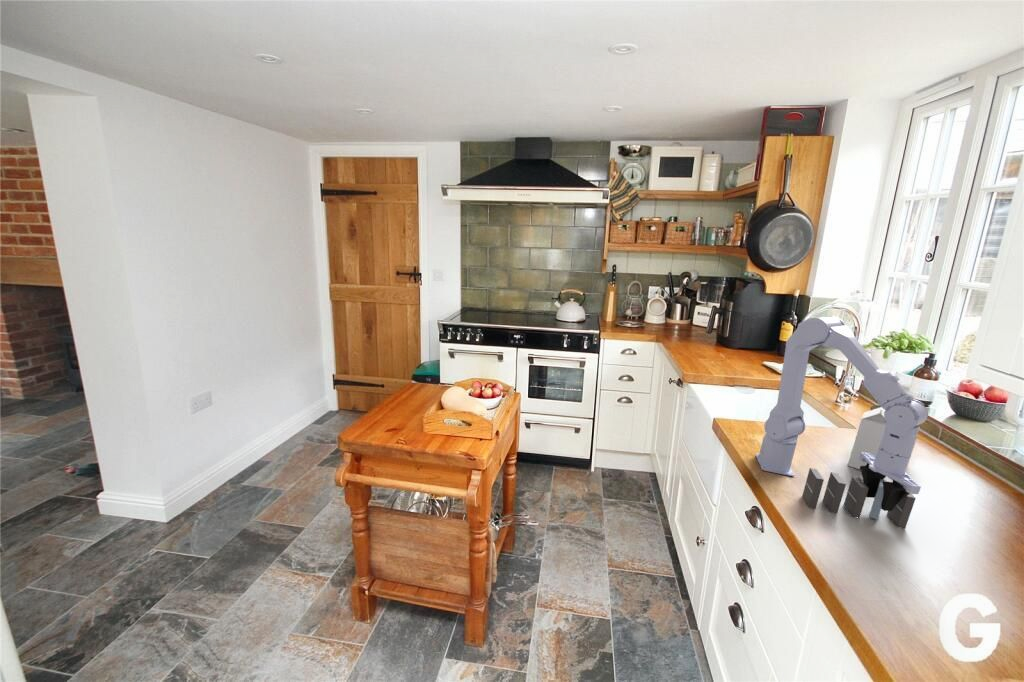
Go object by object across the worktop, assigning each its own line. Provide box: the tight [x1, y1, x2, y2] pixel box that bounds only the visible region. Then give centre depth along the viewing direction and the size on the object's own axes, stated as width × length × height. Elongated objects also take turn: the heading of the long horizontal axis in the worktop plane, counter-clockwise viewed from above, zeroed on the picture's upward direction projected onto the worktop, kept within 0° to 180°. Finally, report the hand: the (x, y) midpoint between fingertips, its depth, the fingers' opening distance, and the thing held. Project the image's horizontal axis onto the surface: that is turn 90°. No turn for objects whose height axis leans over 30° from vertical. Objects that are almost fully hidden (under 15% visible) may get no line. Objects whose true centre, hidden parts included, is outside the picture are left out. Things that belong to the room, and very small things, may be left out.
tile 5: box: [886, 494, 916, 529], centre depth 103 cm, size 2×5×8 cm, turn 162°
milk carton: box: [847, 407, 887, 471], centre depth 126 cm, size 7×7×19 cm
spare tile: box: [869, 479, 890, 520], centre depth 104 cm, size 2×5×8 cm, turn 137°
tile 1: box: [801, 467, 825, 510], centre depth 108 cm, size 2×5×8 cm, turn 163°
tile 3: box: [843, 475, 869, 519], centre depth 105 cm, size 2×5×8 cm, turn 162°
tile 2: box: [822, 472, 847, 515], centre depth 106 cm, size 2×5×8 cm, turn 162°
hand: (877, 503), depth 104 cm, fingers closed on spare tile, 4 cm apart
